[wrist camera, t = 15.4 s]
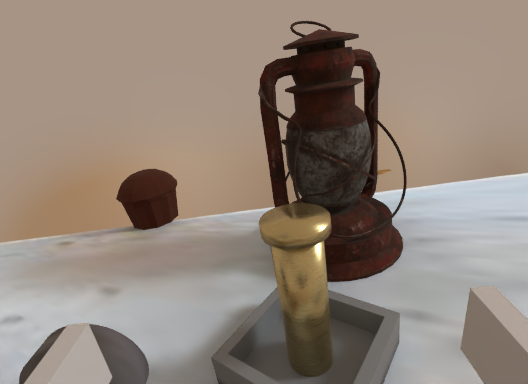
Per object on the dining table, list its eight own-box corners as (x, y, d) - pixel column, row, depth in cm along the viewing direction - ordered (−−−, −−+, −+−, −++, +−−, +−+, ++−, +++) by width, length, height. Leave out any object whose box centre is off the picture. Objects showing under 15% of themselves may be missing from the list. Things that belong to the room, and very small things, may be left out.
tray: (219, 386, 28) (211, 357, 27) (290, 301, 37) (286, 276, 35) (348, 472, 21) (346, 439, 20) (399, 342, 30) (399, 313, 28)
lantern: (318, 303, 36) (288, 0, 25) (251, 236, 52) (215, 35, 41) (434, 246, 43) (452, -12, 32) (343, 202, 59) (333, 22, 48)
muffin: (151, 237, 57) (135, 186, 53) (114, 228, 63) (97, 181, 59) (196, 209, 66) (185, 163, 62) (160, 203, 72) (148, 161, 68)
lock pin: (270, 366, 28) (244, 228, 23) (300, 325, 32) (283, 199, 27) (324, 395, 25) (308, 243, 20) (349, 346, 29) (342, 208, 24)
